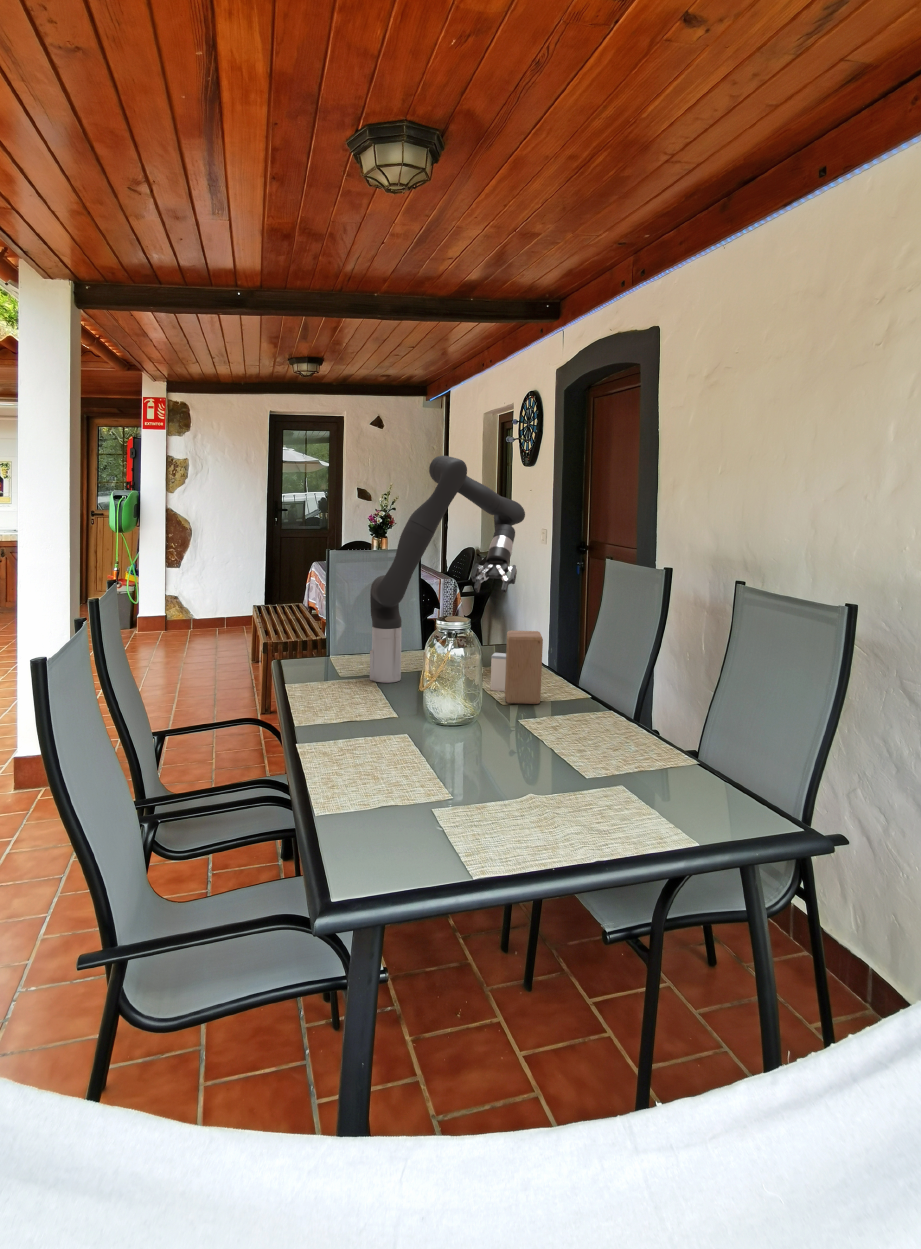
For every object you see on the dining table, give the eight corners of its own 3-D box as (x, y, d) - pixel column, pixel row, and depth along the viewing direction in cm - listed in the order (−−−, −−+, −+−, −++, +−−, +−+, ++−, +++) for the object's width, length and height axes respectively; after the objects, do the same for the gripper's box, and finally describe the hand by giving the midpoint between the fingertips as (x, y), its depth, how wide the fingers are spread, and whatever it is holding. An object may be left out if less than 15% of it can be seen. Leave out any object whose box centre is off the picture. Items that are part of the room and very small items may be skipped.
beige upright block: (490, 690, 250) (491, 655, 248) (494, 686, 255) (495, 652, 253) (506, 691, 249) (507, 656, 247) (509, 687, 254) (510, 653, 252)
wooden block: (540, 705, 234) (543, 636, 231) (505, 704, 234) (508, 635, 231) (538, 696, 244) (540, 630, 241) (504, 695, 244) (506, 629, 241)
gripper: (476, 544, 267) (465, 583, 258) (519, 546, 262) (509, 585, 254) (481, 559, 273) (470, 597, 264) (522, 560, 268) (513, 600, 260)
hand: (489, 591), depth 259 cm, fingers open, 8 cm apart
